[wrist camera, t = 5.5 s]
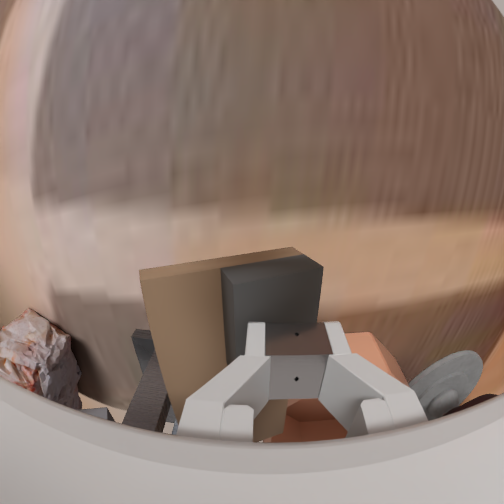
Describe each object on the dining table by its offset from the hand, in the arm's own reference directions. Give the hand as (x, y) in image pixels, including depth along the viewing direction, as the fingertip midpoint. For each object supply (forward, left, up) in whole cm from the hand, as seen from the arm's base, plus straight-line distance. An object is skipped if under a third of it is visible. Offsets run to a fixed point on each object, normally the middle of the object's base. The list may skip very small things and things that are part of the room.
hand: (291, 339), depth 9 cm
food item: (-22, -13, -9) cm, 27 cm away
